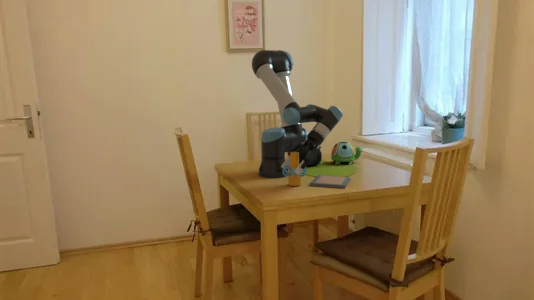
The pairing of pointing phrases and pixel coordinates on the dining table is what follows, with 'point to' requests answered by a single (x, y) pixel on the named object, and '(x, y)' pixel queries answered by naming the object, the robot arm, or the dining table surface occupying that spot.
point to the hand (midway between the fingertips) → (289, 170)
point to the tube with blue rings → (292, 176)
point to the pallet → (330, 181)
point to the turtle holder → (345, 153)
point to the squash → (316, 160)
